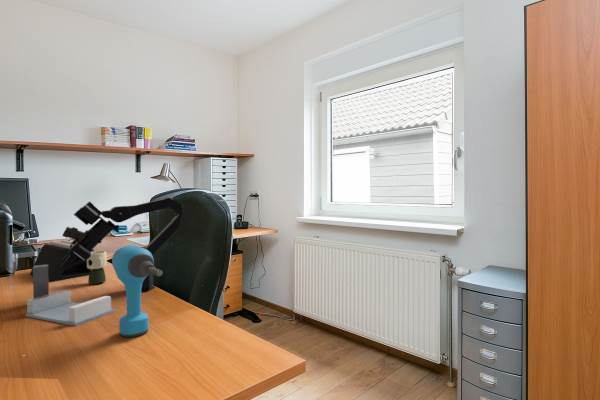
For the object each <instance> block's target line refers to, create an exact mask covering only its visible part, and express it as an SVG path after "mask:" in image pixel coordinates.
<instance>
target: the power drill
mask: <svg viewBox="0 0 600 400" xmlns="http://www.w3.org/2000/svg"><path fill="white" fill-rule="evenodd" d="M144 248H145V247H144ZM144 248H143V247H141V246H138V245H137V246H136V245H126V246H122V247H120V248H118V249H117V250H115V252H114V253H113V255H112V258H111V264H112V268H113V269H114V272H115V274H116V275H115V276H116V277H117V279H118V280H119V281H121V283H122V284H123V286H124V289H125V295H126V314H124V315H122V316H120V318H119V319H118V320H119V334H120V336H122V337H124V338H133V337H138V336H141V335H144V334H146V333H147V332H148V331H149V329H150V327H149V323H150V322H149V321H150V320H149V315H148V314H147V313H146V312H142V291H141V288H142V283H143V281H144V279H145V278H146V277H147V276H148V275H149V274H153V276H155V277H161V276H163V270H161V269H159V268H157V267H156V266H155V262H154V261H155V260H154V255H153V256H152V254H151V253H150V252H149V251H148V250H146V249H144Z"/></svg>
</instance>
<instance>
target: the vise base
mask: <svg viewBox="0 0 600 400" xmlns="http://www.w3.org/2000/svg"><path fill="white" fill-rule="evenodd" d="M115 312H116V309H115V308H112V296H109V295H104V296H99V297H97V298H94V299H90V300H87V301H84V302H73V301H71V302H70V303H67V304H63V305H60V306H57V307H53V308H50V309H47V310H44V311H40V312H37V313H34V314H31V313H27V312H25V317H28V318H33V319H37V320H38V319H39V320H42V321H47V322H54V323H58V324H63V325H68V326H74V327H78V326H80V325H82V324H85V323H88V322H91V321H93V320H95V319H98V318H101V317H103V316H106V315H108V314H113V313H115Z"/></svg>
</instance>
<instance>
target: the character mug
mask: <svg viewBox="0 0 600 400" xmlns="http://www.w3.org/2000/svg"><path fill="white" fill-rule="evenodd" d="M107 263H108V262H107V251H105V250H97V251H96V250H94V252H91V257H90V258H89V259H87V268H88V269H91V270H90V273H89V275H88V282H87V283H88V284H90V285H95V284H97V285H99V284H100V283H104V282H107V278H106V273H105V269H104V268H106V267H107V265H108V264H107Z"/></svg>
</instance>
